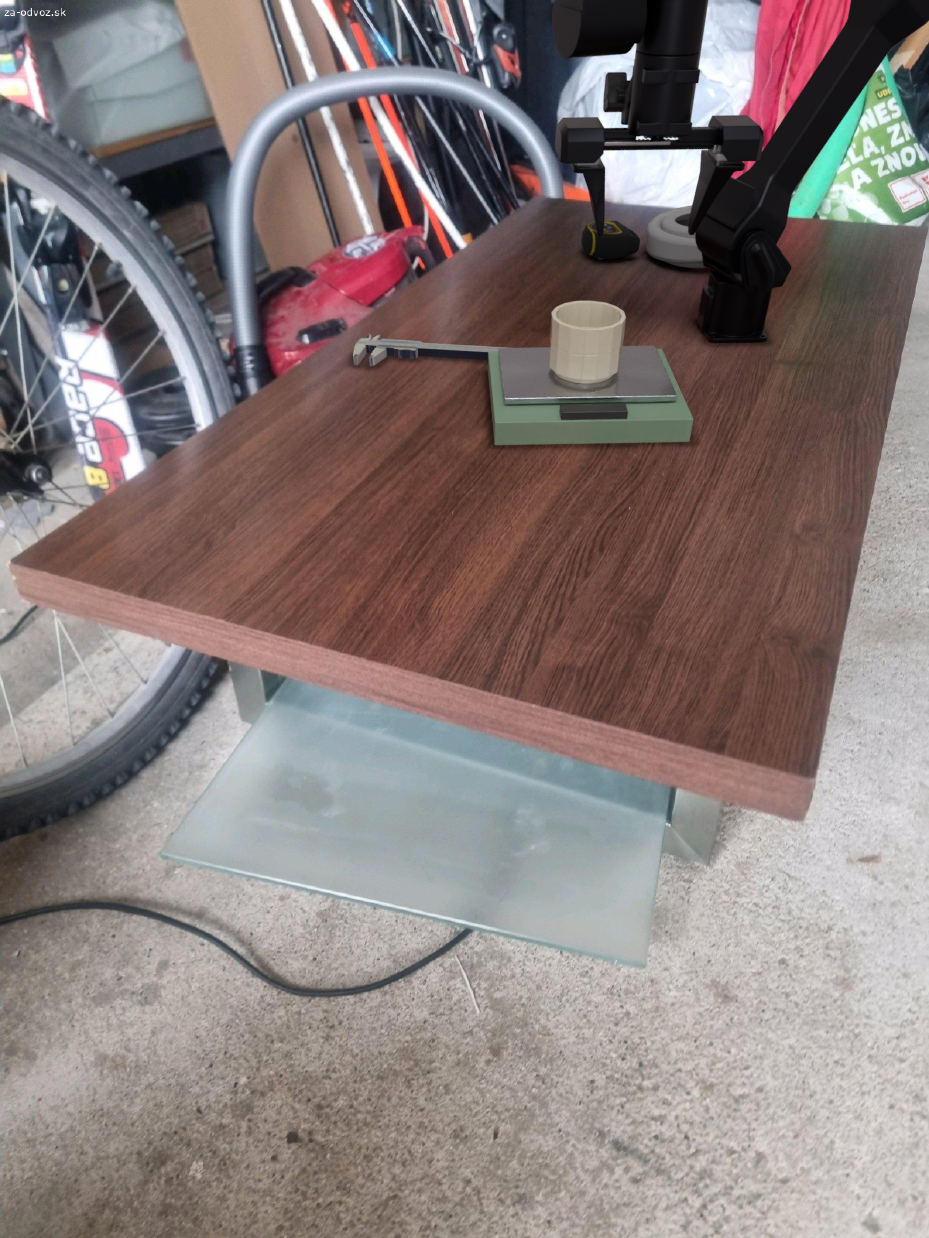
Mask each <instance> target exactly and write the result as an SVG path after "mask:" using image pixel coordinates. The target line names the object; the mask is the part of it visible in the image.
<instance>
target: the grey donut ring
mask: <svg viewBox="0 0 929 1238" xmlns="http://www.w3.org/2000/svg"><path fill="white" fill-rule="evenodd" d="M691 208H692V204H691V205H685V206H681V207H676V208H671V209H669V210H667V211H664V212H661V213H660V214H658V215H656V216H655V217H653V218H652V219H651V220H650V221H649V222H648V224H647V227H646V234H645V235H646V236H645V250H646V253H647V254H648V256H650V257H651V258H653V259H656V260H657V261H661V262H665V263H667V264H670V265H672V266H676V267H680V268H689V269H708V268H707V267H705V266H704V265H703V259H702V253H701V251H700V250H699V249H698V247H697V245H696V242H695V234H694V235H689V233H688V226H689V217H690V212H691Z"/></svg>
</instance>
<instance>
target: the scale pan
mask: <svg viewBox="0 0 929 1238" xmlns="http://www.w3.org/2000/svg"><path fill="white" fill-rule="evenodd" d="M657 349H658V348H657V347H656V345H623V348H622V356H621V365H620V368H619V370H618V371H617V373H615V374H613V376H612V377H611V378H609V379H608V380H605V381H603V382H599V383H592V384H581V383H574V382H569V381H566V380H564V379H561V378H560V377H558V376H557V375H556V374H555V373H554V371H553V370H552V369H551V368H550V366H549V347H548V346H547V347H544V346H543V347H505V348H499V350H498V354H499V362H500V371H501V380H502V388H503V397H504V404H543V403H601V402H660V401H676V400H677V394H676V392H675V390H674V388H673V385H672V383H671V381H670V378H669V376H668V374H667V372H666V369H665V367H664V365H663V362H662V360H661V358H660V356H659V353H658V351H657Z"/></svg>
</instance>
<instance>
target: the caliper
mask: <svg viewBox="0 0 929 1238" xmlns="http://www.w3.org/2000/svg"><path fill="white" fill-rule="evenodd" d="M499 348H506V347H505V346H504V347H503V346H501V347H500V346H488V345H487V346H486V345H470V344H469V345H466V344H451V343H449V344H448V343H433V342H432V343H431V342H423V341H422V340H410V339H395V338H394V339H392V338H381V334H377V335H376V336H375V335H374V337H372V335H371V333H368V335H367V336H366V337H360V338H359V340H358V341H357V342H356V343H355V344H354V347H353V354H352V359H353V366H356V367H357V366H359V365H360V364H361V362H362V361H363V360H364V358H365V357H366V355H368V354H370V356H369V360H368V361H369V367H373V366H377V365H378V364H379V363H380V362H381V361H383V360H385V358H388V357H394V358H400V359H412V360H417V359H418V358H419V357H428V358H443V359H444V358H445V359H460V360H463V359H464V360H478V361H479V360H481V361H488V352H498V350H499Z"/></svg>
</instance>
